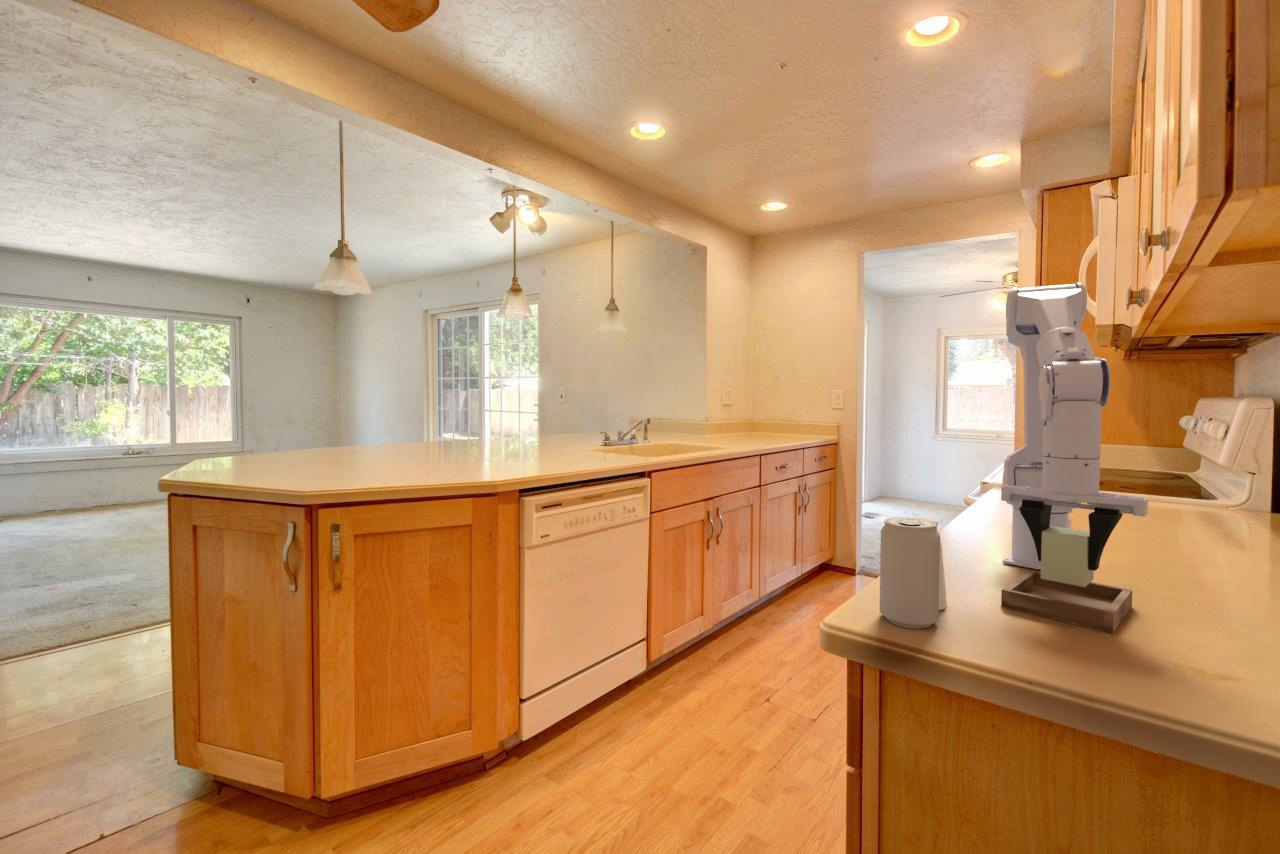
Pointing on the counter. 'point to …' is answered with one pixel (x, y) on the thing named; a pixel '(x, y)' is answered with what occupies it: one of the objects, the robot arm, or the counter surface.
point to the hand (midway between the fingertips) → (1067, 564)
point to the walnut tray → (1069, 601)
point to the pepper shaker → (940, 576)
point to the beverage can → (909, 572)
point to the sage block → (1066, 556)
